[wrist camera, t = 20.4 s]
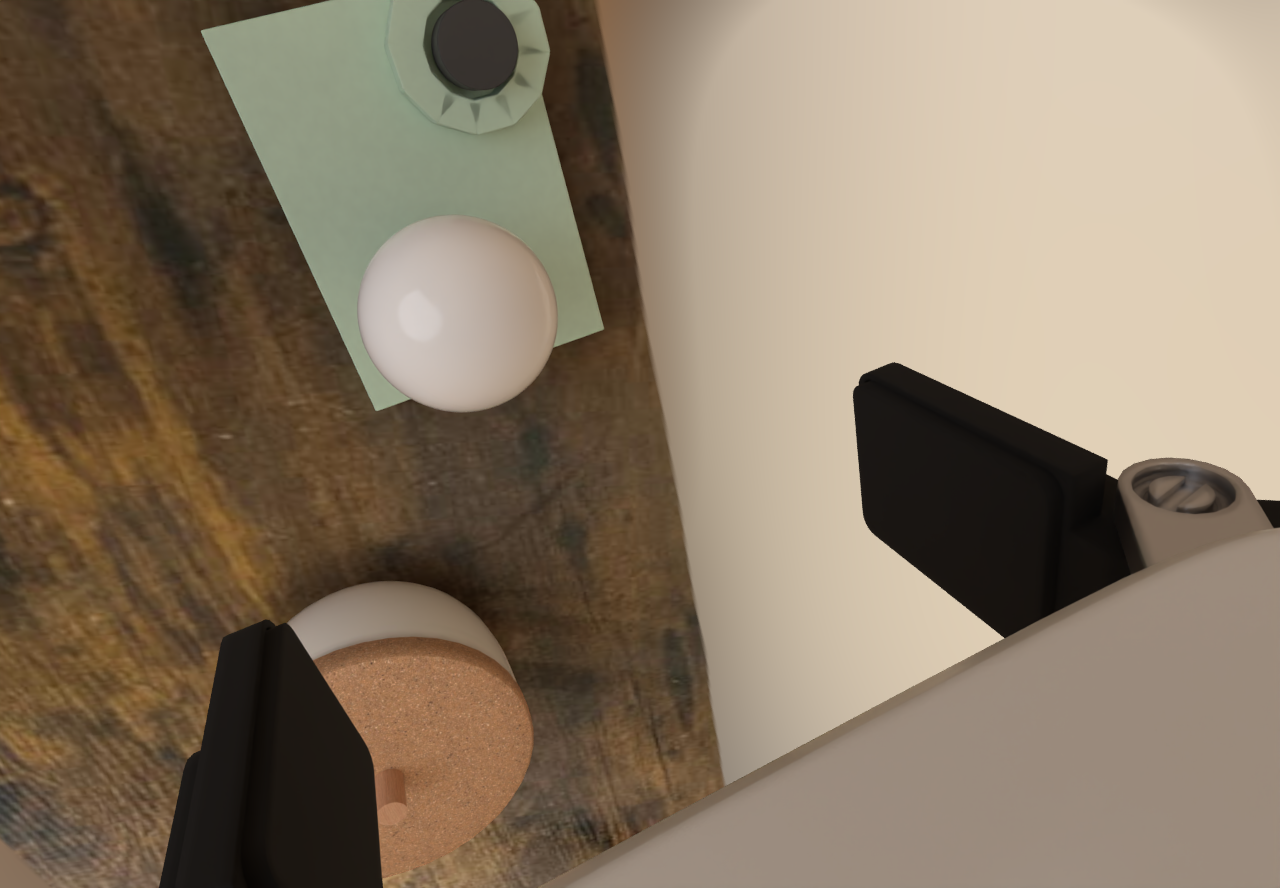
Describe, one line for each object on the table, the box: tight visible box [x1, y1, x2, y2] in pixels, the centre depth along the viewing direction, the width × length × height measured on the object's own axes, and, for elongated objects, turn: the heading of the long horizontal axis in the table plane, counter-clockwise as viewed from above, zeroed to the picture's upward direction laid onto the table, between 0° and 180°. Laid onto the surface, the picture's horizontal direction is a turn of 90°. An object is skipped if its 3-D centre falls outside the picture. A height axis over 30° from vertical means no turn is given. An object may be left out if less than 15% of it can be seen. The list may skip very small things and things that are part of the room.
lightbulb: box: [357, 214, 558, 412], centre depth 26 cm, size 6×6×11 cm
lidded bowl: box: [287, 581, 533, 878], centre depth 34 cm, size 13×13×11 cm
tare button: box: [431, 0, 518, 91], centre depth 26 cm, size 3×3×2 cm
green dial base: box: [201, 0, 604, 411], centre depth 29 cm, size 15×11×3 cm
